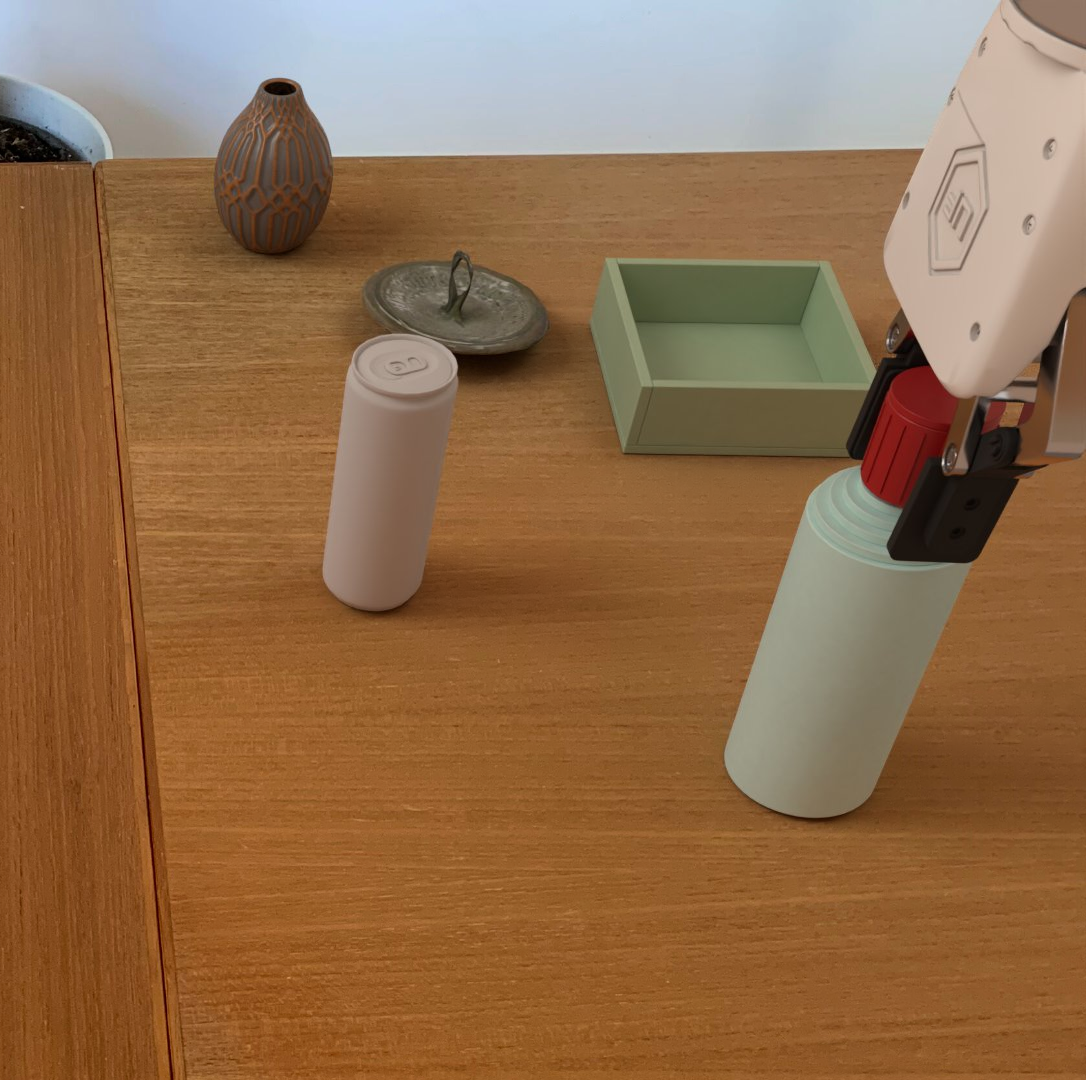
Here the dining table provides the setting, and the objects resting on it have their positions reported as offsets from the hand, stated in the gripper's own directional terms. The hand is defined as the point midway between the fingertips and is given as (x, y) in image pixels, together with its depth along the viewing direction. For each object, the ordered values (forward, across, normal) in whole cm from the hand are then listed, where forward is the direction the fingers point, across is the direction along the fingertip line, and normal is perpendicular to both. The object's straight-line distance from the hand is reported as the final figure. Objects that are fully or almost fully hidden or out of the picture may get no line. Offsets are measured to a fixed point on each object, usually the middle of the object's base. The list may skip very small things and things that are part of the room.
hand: (908, 501), depth 63 cm
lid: (+14, -34, -11) cm, 39 cm away
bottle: (+14, -1, +1) cm, 14 cm away
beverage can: (+15, -12, -17) cm, 26 cm away
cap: (-1, -1, 0) cm, 1 cm away
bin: (+14, -30, +3) cm, 33 cm away
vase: (+15, -44, -21) cm, 51 cm away
